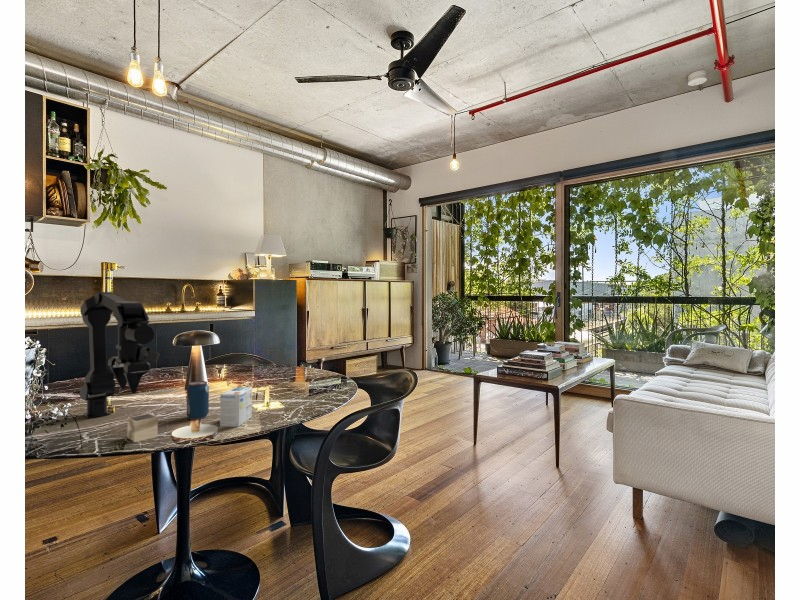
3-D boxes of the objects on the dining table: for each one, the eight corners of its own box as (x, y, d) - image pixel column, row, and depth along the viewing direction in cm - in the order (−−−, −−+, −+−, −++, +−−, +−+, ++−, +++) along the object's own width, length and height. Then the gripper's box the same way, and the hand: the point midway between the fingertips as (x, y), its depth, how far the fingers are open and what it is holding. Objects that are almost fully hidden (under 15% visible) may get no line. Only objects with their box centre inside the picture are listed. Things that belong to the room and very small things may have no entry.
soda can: (212, 414, 145) (213, 381, 145) (200, 420, 138) (200, 385, 138) (195, 413, 146) (195, 380, 146) (181, 419, 139) (182, 384, 139)
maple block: (135, 421, 117) (134, 442, 117) (157, 417, 122) (157, 437, 122) (127, 417, 121) (127, 437, 121) (149, 413, 126) (149, 432, 126)
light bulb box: (233, 416, 143) (233, 386, 143) (252, 417, 143) (252, 386, 143) (219, 426, 132) (219, 393, 132) (239, 427, 132) (239, 394, 132)
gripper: (168, 342, 129) (168, 391, 129) (145, 337, 141) (145, 382, 141) (128, 345, 120) (128, 397, 121) (107, 340, 132) (107, 387, 132)
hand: (128, 390), depth 129 cm, fingers open, 9 cm apart
